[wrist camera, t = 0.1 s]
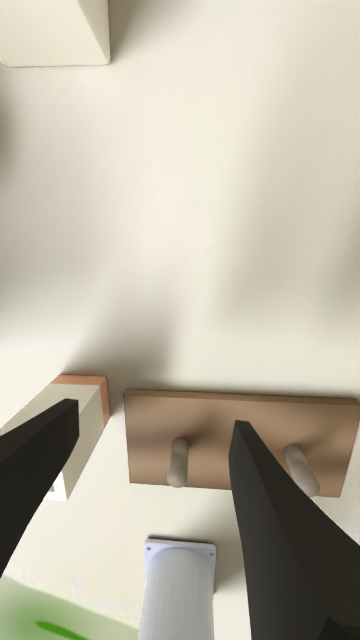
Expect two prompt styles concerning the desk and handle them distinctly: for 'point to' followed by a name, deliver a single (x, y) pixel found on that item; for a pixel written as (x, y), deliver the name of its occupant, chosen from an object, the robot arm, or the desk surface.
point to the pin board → (216, 433)
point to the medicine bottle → (54, 33)
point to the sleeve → (91, 423)
